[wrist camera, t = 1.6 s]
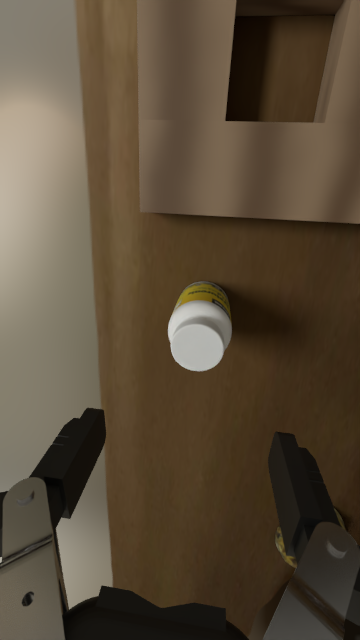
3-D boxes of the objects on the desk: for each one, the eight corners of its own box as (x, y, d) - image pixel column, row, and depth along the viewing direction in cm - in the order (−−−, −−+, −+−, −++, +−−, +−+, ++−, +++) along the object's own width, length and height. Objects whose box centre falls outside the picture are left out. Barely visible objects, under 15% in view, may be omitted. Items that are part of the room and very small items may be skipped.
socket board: (483, -141, 16) (538, -213, 13) (370, 222, 24) (390, 225, 21) (147, -117, 18) (134, -177, 15) (148, 211, 26) (139, 211, 23)
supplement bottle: (238, 292, 28) (248, 334, 19) (215, 334, 30) (214, 390, 21) (190, 271, 28) (176, 304, 19) (171, 315, 30) (151, 363, 21)
